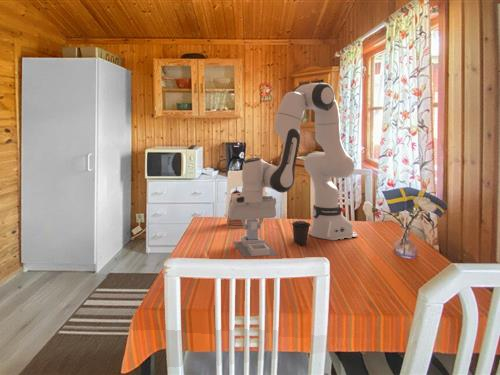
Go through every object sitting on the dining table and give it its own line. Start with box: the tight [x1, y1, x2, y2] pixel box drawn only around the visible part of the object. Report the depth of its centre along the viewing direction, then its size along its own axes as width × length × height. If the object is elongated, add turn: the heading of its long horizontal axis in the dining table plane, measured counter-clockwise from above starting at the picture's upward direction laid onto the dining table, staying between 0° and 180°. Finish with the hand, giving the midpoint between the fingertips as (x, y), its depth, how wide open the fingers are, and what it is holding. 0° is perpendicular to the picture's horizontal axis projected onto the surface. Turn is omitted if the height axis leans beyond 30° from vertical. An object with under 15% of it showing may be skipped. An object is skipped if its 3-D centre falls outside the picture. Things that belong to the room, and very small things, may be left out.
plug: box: [245, 219, 259, 240], centre depth 170 cm, size 4×5×8 cm
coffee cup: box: [291, 220, 311, 247], centre depth 175 cm, size 8×8×10 cm
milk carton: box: [226, 187, 244, 229], centre depth 203 cm, size 9×9×20 cm
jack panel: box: [233, 235, 279, 258], centre depth 165 cm, size 14×20×4 cm
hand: (252, 228), depth 170 cm, fingers closed on plug, 4 cm apart
